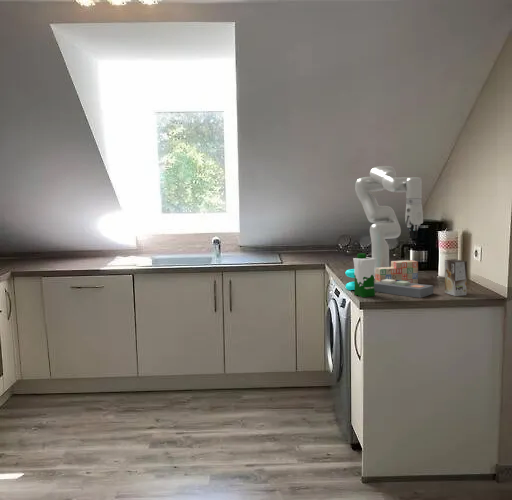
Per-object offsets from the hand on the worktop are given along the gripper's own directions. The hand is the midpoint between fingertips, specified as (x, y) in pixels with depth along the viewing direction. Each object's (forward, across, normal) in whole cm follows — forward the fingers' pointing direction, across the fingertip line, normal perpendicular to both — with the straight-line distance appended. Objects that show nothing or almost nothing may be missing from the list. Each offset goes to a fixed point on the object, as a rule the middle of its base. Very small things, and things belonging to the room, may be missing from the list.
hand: (413, 238), depth 271 cm
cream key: (+23, -17, +4) cm, 29 cm away
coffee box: (+25, -5, -25) cm, 36 cm away
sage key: (+23, -17, -4) cm, 29 cm away
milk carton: (+25, -34, +6) cm, 43 cm away
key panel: (+25, -17, -4) cm, 31 cm away
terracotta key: (+24, -17, -12) cm, 32 cm away
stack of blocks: (+25, 0, +10) cm, 27 cm away
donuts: (+25, -24, +19) cm, 40 cm away
